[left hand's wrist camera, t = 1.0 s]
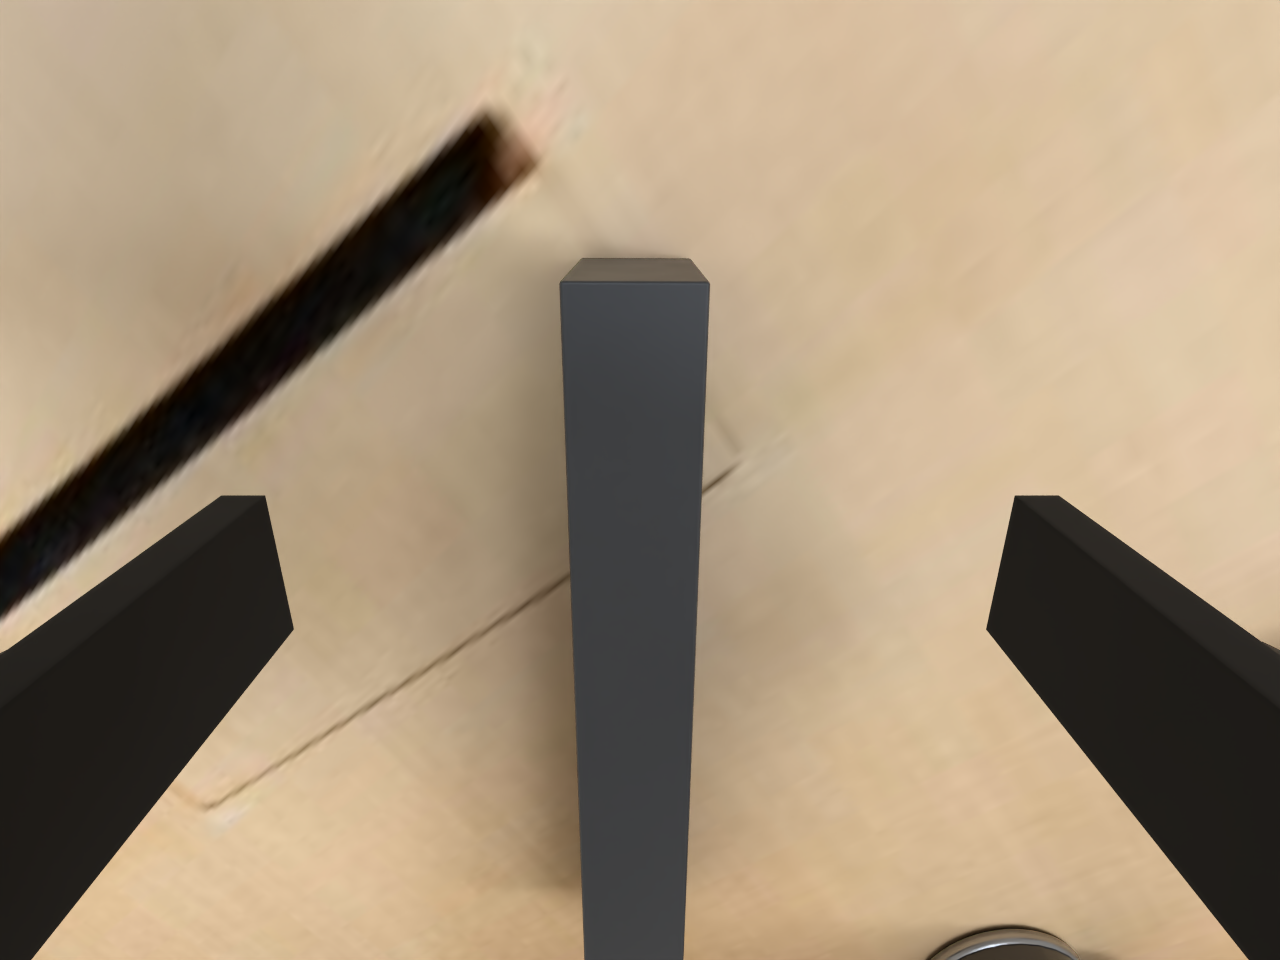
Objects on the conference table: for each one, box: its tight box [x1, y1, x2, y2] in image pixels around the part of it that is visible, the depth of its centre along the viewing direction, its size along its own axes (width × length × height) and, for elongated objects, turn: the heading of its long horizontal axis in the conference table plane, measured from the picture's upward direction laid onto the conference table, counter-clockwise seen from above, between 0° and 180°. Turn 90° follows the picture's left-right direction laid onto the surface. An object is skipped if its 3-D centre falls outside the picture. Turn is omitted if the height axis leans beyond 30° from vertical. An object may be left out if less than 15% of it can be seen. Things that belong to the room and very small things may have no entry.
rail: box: [560, 258, 710, 960], centre depth 28 cm, size 32×4×8 cm, turn 0°
